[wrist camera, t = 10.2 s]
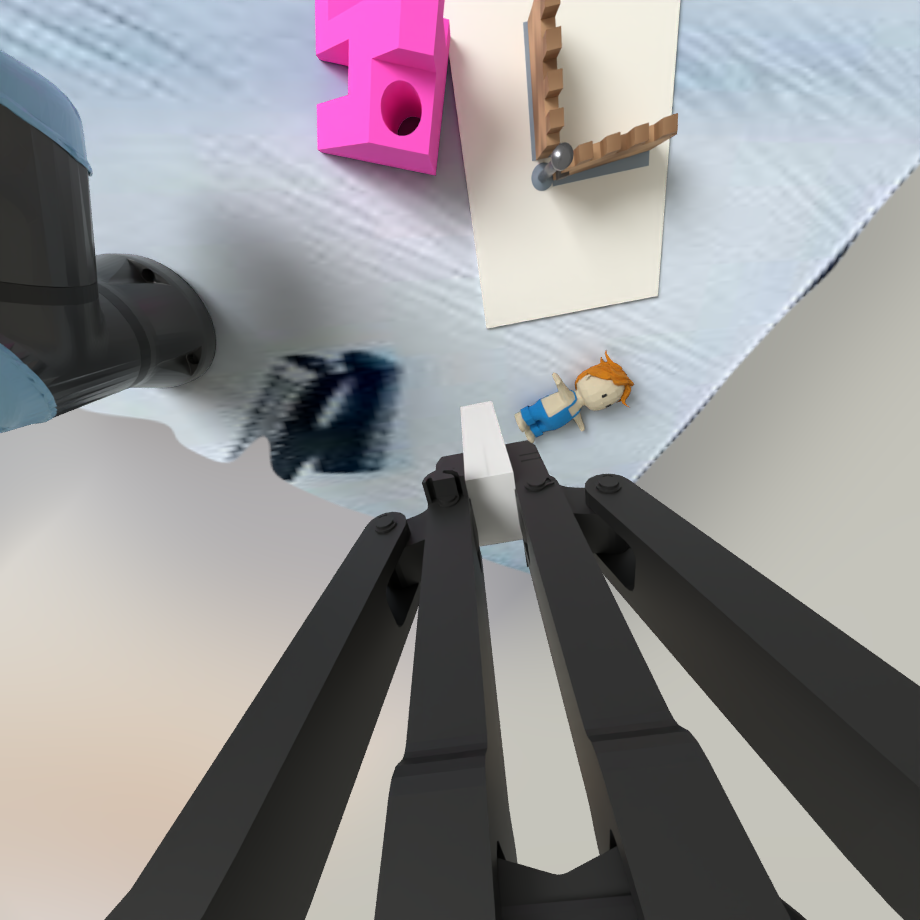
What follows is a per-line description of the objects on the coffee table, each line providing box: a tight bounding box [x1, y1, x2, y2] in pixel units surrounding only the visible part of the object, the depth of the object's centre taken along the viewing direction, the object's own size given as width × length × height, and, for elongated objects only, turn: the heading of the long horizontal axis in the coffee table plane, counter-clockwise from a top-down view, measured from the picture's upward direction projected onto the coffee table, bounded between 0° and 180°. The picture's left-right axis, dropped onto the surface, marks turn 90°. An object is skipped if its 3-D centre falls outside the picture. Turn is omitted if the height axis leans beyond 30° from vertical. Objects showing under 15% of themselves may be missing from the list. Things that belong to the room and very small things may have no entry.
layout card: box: [443, 0, 680, 328], centre depth 37 cm, size 21×29×1 cm
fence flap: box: [553, 113, 678, 181], centre depth 34 cm, size 10×2×7 cm, turn 105°
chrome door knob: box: [538, 142, 574, 183], centre depth 34 cm, size 2×2×8 cm
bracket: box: [315, 0, 451, 176], centre depth 30 cm, size 12×10×10 cm
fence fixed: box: [528, 0, 564, 160], centre depth 32 cm, size 10×1×7 cm, turn 10°
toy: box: [515, 351, 634, 443], centre depth 48 cm, size 12×6×15 cm
